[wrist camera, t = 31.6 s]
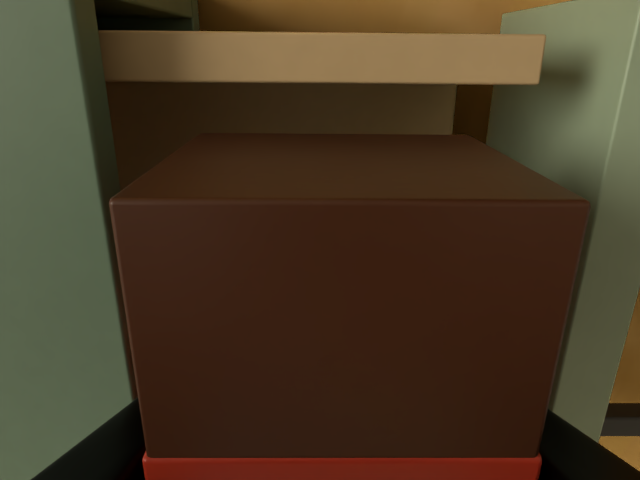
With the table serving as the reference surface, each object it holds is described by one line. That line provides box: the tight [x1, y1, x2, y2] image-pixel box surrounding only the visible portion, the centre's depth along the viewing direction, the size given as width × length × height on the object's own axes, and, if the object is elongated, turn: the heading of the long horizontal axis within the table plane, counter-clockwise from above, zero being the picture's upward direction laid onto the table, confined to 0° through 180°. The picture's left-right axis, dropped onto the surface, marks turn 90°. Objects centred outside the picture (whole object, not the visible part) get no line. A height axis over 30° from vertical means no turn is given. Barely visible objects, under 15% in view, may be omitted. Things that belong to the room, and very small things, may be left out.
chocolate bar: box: [109, 133, 591, 480], centre depth 8 cm, size 5×9×4 cm, turn 179°
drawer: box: [98, 0, 640, 443], centre depth 13 cm, size 20×13×6 cm
